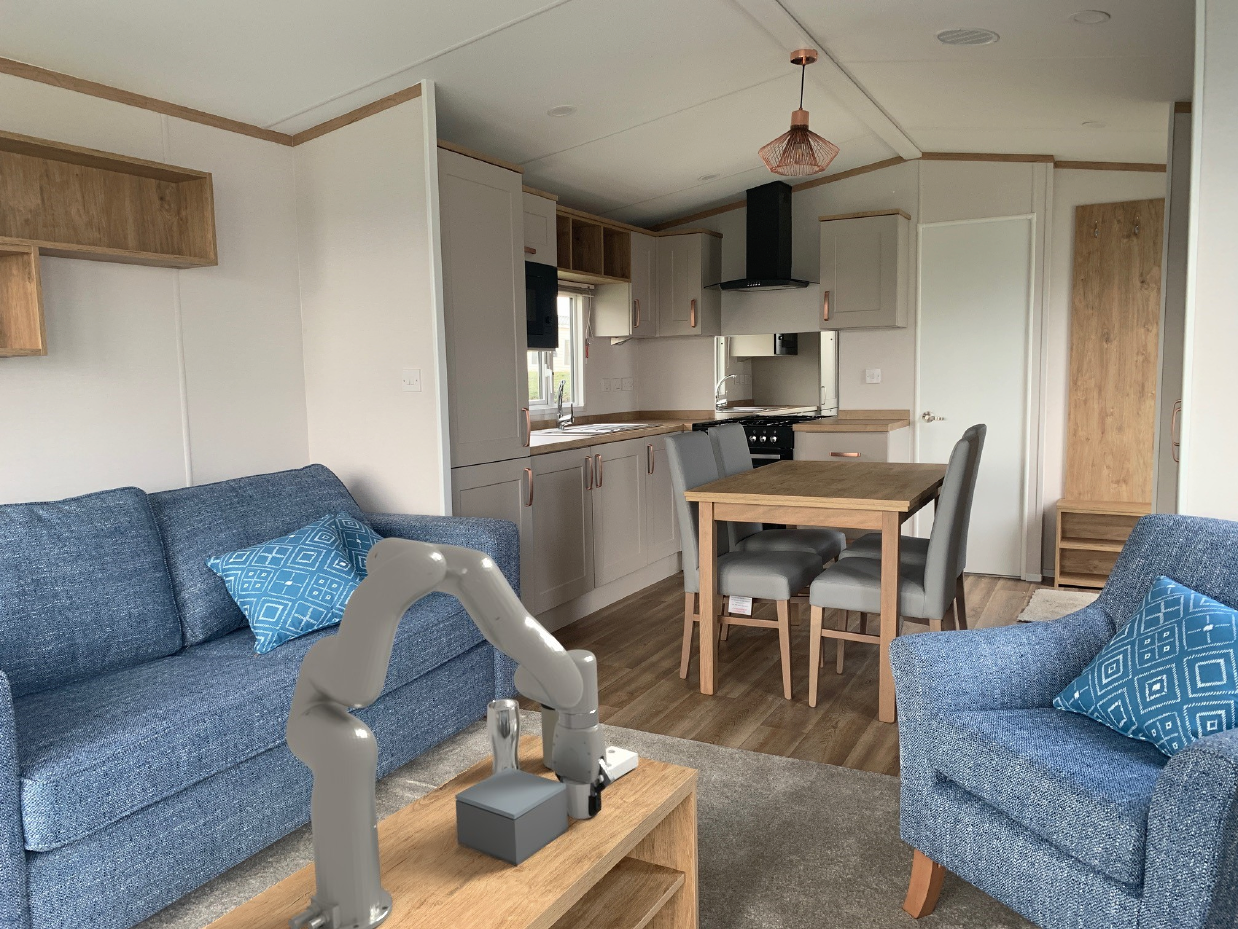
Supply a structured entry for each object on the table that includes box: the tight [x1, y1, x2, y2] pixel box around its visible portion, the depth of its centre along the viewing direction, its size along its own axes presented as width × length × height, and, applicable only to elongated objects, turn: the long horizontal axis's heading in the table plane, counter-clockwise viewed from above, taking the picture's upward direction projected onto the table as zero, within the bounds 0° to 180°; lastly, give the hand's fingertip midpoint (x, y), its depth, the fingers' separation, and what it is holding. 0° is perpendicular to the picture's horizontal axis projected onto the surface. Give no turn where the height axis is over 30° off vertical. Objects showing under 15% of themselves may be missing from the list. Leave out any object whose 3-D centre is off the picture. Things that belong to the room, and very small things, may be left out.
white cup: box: [563, 777, 598, 820], centre depth 165 cm, size 7×7×7 cm
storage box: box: [455, 789, 569, 867], centre depth 157 cm, size 14×14×8 cm
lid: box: [454, 767, 566, 819], centre depth 156 cm, size 14×14×1 cm
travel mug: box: [540, 703, 559, 770], centre depth 187 cm, size 8×8×18 cm
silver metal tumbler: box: [486, 698, 522, 776], centre depth 183 cm, size 7×7×15 cm
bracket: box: [600, 745, 639, 781], centre depth 180 cm, size 13×7×8 cm, turn 142°
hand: (582, 808), depth 165 cm, fingers closed on white cup, 5 cm apart
